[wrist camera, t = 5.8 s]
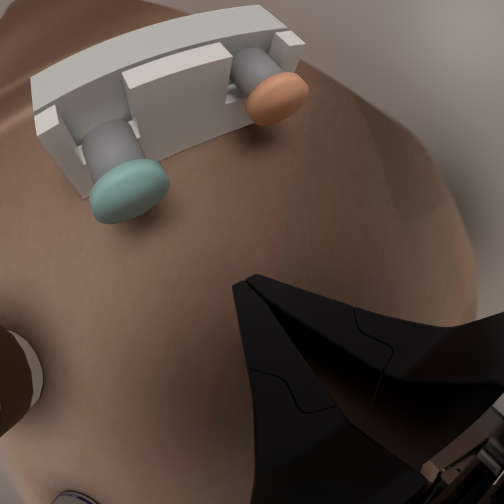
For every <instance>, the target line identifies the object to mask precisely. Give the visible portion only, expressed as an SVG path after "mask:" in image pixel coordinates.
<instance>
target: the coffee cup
mask: <svg viewBox="0 0 504 504" xmlns="http://www.w3.org/2000/svg"><path fill="white" fill-rule="evenodd" d="M42 385H43V375H42V367H41V364H40V362H39V359H38V356H37V354H36V353H35V351H34V350H33V349H32V347H31V346H30V344H29V343H28V342H27V341H26V340H25V339H23V338H22V337H21V336H19V335H18V334H16V333H14V332H12V331H9V330H6V329H5V328H4V327H2V326H1V325H0V437H1V436H2V435H4V434H5V433H6V432H7V431H8V430H9V429H10V428H12V427H13V426H14V425H15V424H16V423H17V422H18V421H20V420H21V419H22V418H23V416H24V415H25V414H26V413H27V411H28V410H29V409H30V408H31V407H32V406H33V405H34V404H35V403H36V401H37V400H38V399H39V397H40V393H41V389H42Z"/></svg>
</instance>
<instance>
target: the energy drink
mask: <svg viewBox="0 0 504 504" xmlns="http://www.w3.org/2000/svg"><path fill="white" fill-rule="evenodd" d="M51 504H97V503H95V502H94V501H93V500H91V499H90V498H88V497H86V496H84V495H81V494H78V493H75V492H62V493H60V494H59V495H58V496H57V497H56V498H55V499H54V501H53V502H52V503H51Z"/></svg>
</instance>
